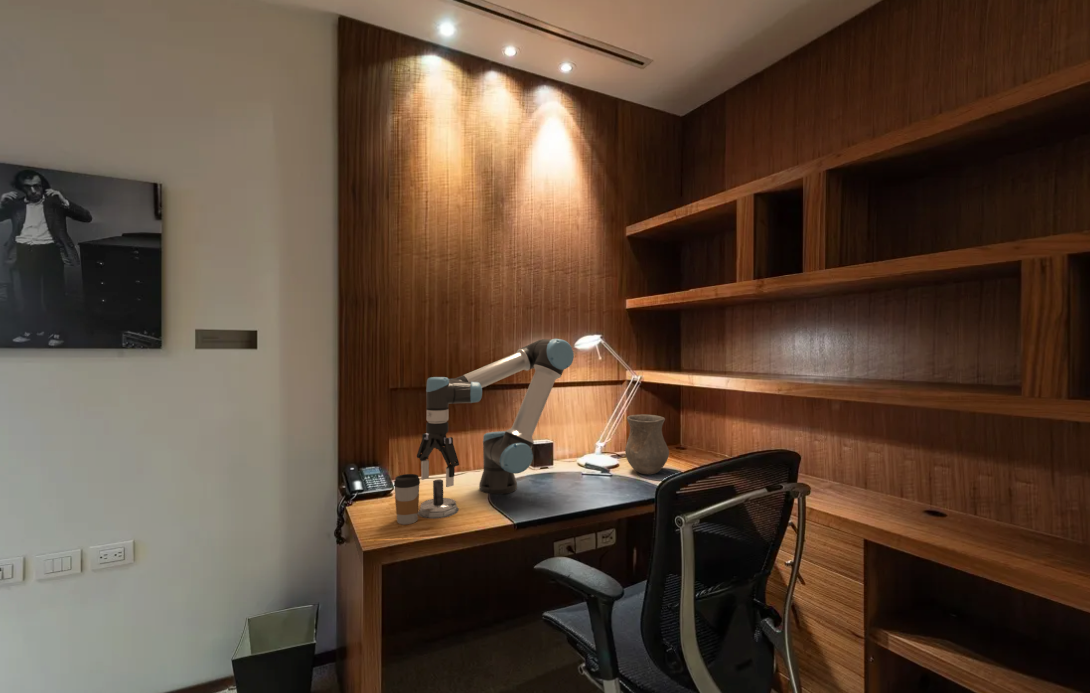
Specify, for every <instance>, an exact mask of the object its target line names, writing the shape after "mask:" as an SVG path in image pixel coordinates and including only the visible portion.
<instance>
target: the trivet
mask: <svg viewBox="0 0 1090 693" xmlns="http://www.w3.org/2000/svg"><path fill="white" fill-rule="evenodd" d="M459 511H460V508H459V507H458V506H457V505H456V512H455V513H453V514H450V515H448V516H445V517H444V516H443V517H433V518H428V517H426V516H423V515H420V509H418V517H421V518H424V519H433V520H436V519H437V520H438V519H443V518H449V517H452V516H453V515H456V514H457V513H458V512H459Z"/></svg>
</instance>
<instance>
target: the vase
mask: <svg viewBox="0 0 1090 693" xmlns="http://www.w3.org/2000/svg"><path fill="white" fill-rule="evenodd" d="M626 420H627V422H628V424H629V428H630V429H629V435H628V438H627V442H626V444H625V450H624V452H625V453H624V454H625V457H626V461H627V462H628V464H629V465H630V467H631V468H632V469H633V470H634V471H636V472H637V473H639V474H641V475H654V474H657V473H659V472H660V471H661V469H663V468H664V466H665V465H666V463H667V461H668V459H669V456H670V451H669V450H670V448H668V445H667V443H666V441H665V438H664V436H663V431H662V430H663V429H662V428H663V426H664V422H665V420H666V418H665V417H663V416H660V415H657V414H656V415H655V414H631V415H628V416H627V417H626Z"/></svg>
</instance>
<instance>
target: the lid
mask: <svg viewBox="0 0 1090 693" xmlns="http://www.w3.org/2000/svg"><path fill="white" fill-rule="evenodd" d="M432 487H433V488H432V492H433V494H432V496H433V497H432V498H431V499H430V498H429V499H427V500H425V501H423V502H421V504H420V508H419V510H420V515H423V516H426V517H428V518H427V519H429V518H433V517H443V516H444V517H445V516H448V515H450V514H453V513H455V512H456V506H457V501H456V500H455V499H453V498H449V497H444V479H434V480H433V481H432ZM445 518H446V517H445Z"/></svg>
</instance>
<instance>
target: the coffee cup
mask: <svg viewBox="0 0 1090 693" xmlns="http://www.w3.org/2000/svg"><path fill="white" fill-rule="evenodd" d="M420 481H421V479H420V478H419V475H418V474H415V473H407V474H406V473H404V474H400V475H398V476H396V477H395V480H394V481H393V482H394V483H393V486H394V500H395V502H394V504H395V512H396V522H397V524H399V525H411V524H413V523H416V522H418V520H419V519H418V517H419V515H418V511H419V504H420V502H419V501H420V499H419V498H420V484H421V482H420Z"/></svg>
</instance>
